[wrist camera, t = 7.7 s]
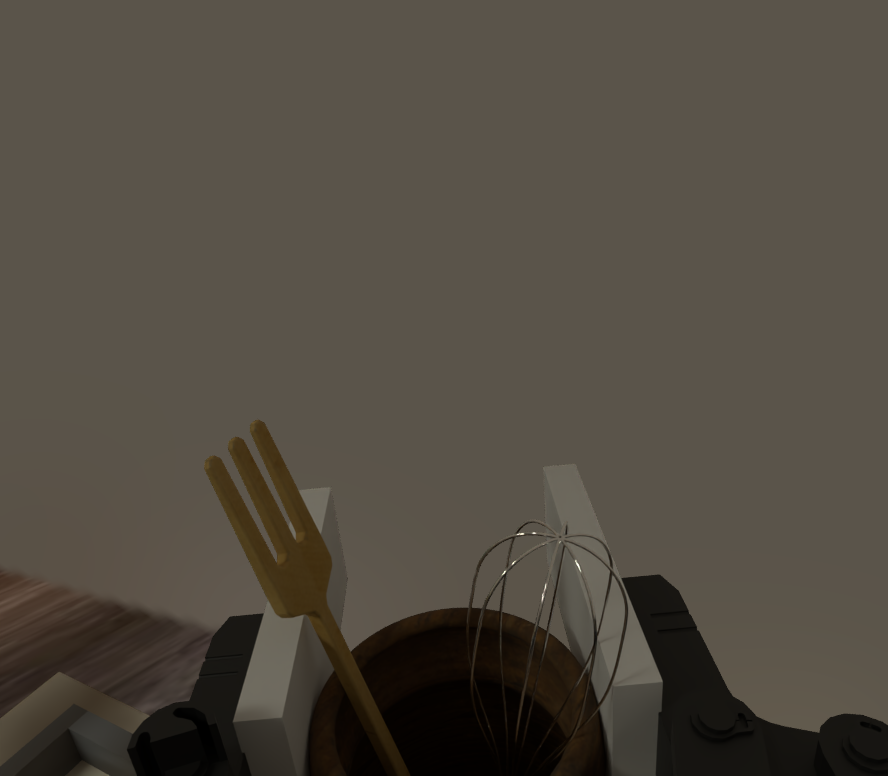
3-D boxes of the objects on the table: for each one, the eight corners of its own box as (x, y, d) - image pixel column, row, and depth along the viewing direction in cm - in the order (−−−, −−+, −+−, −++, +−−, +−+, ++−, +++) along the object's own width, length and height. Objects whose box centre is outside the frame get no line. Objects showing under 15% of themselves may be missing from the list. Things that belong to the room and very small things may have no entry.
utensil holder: (607, 1194, 12) (593, 636, 7) (280, 1048, 14) (89, 549, 9) (643, 846, 16) (651, 381, 12) (399, 780, 19) (319, 366, 14)
